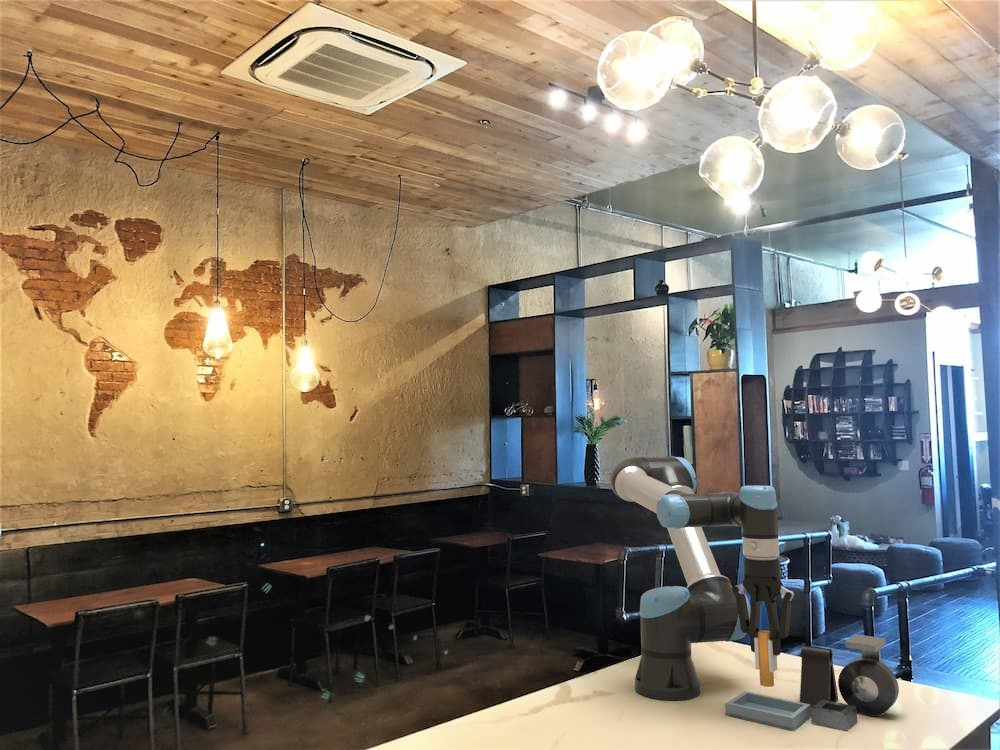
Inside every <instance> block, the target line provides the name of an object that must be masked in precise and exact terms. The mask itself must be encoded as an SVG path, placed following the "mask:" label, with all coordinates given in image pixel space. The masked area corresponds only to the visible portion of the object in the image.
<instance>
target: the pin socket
mask: <svg viewBox="0 0 1000 750" xmlns="http://www.w3.org/2000/svg"><path fill="white" fill-rule="evenodd" d="M810 721H811V722H810V723H811V724H813V725H818V726H822V727H828V728H831V729H835V730H840V731H845V732H848V731H849V730H851V728H852V727H853V726H854V725H855V724H857V722H858V712H857V706H852V705H848V704H847V703H842V702H838V701H837V702H832V701H827V700H821V701H819V702H818V703H817V704H815V705H814V706H813V707H811V717H810Z"/></svg>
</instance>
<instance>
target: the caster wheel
mask: <svg viewBox="0 0 1000 750" xmlns="http://www.w3.org/2000/svg"><path fill="white" fill-rule="evenodd" d="M886 644H887V642H886V637H885V638H884V637H877V636H871V635H864V634H855V635H853V636H851V637H850V638H848V639H847V640H845V641H844V646H845V648H847V649H848V648H849V649H856V650H860V651H861V652H860V653H861V657H858V658H855V659H854V660H852V661H851V662H849V663H848V664H847V665H845V666H844V667H843V668H842V669H841V671H840V673H839V676H838V678H837V679H838V680H837V686H838V690H839V694H840V696H841V697H842V699H843V700H844V702H845V704H847V705H852V706H857V714H858V713H859V714H860V715H863V716H868V717H879V716H881V715H883V714H885V713H886V712H887V711H888V710H889V709H890V708H891V707H892V706H894V704H895V703H896V701H897V700H898V698H899V694H900V693H899V692H900V690H899V689H900V688H899V687H900V686H899V683H898V680H897V678H896V676H895V674H894V672H893V671H892V670H891V668H889V667H888V666H887V664H885V663H884V662H882V656H881V655H882V654H881V648H883V647H885V645H886Z"/></svg>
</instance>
